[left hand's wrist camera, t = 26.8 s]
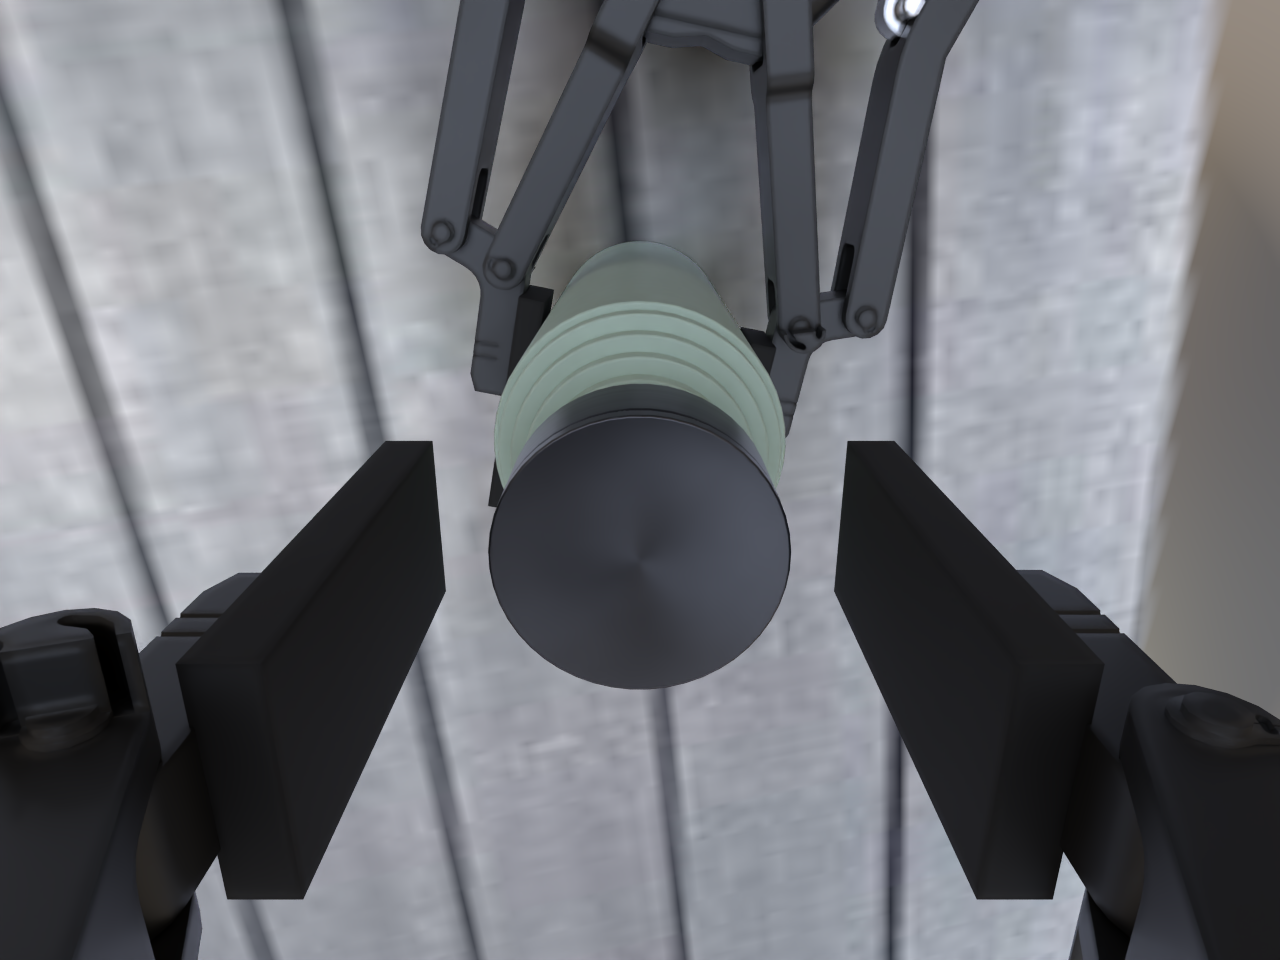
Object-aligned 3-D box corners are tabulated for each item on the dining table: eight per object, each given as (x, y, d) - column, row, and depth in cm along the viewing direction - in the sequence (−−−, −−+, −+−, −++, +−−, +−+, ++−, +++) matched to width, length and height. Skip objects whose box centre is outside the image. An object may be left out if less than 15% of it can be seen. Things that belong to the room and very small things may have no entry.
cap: (653, 324, 13) (656, 349, 11) (825, 522, 14) (852, 575, 12) (452, 499, 14) (425, 548, 12) (627, 671, 15) (626, 739, 13)
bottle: (721, 239, 31) (846, 344, 12) (719, 401, 33) (822, 701, 14) (555, 242, 31) (425, 350, 12) (563, 403, 33) (463, 706, 14)
